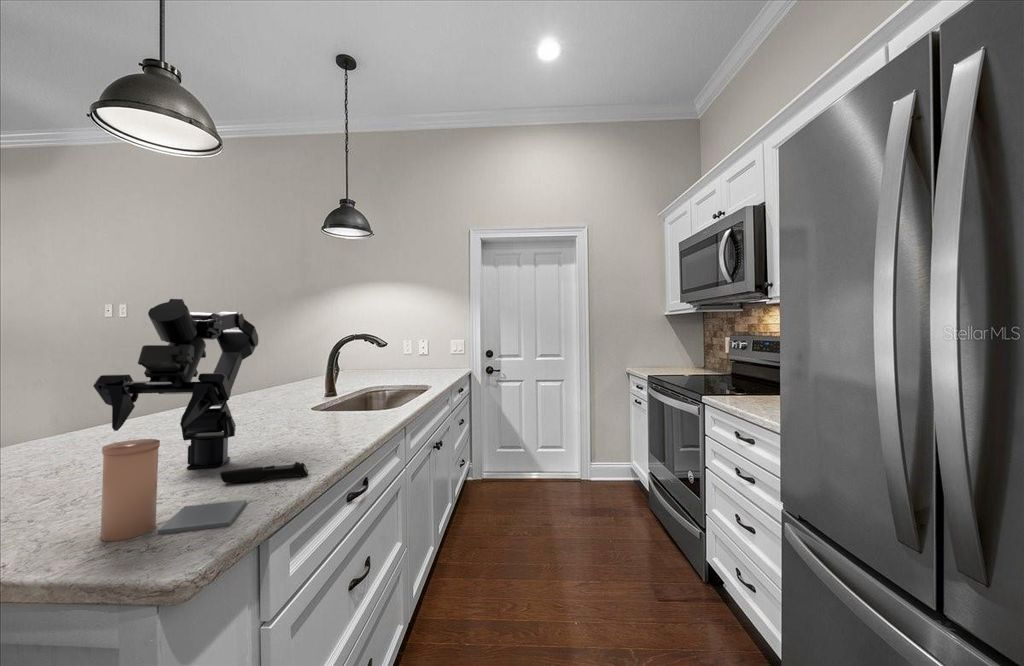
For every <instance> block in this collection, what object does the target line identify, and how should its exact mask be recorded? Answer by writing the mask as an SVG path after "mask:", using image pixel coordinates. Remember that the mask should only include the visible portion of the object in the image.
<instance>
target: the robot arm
mask: <svg viewBox="0 0 1024 666" xmlns="http://www.w3.org/2000/svg"><path fill="white" fill-rule="evenodd" d="M147 313H148V314H147V315H148V318H149V320H150V321H151V323H152V326H153V327H154V330H155V331H156V333H157V335H158V337H159V339H160V341H162V342H165V343H168V344H167V345H165V344H163V345H159V344H158V345H156V344H155V345H154V344H152V345H151V344H150V345H149V344H148V345H147V344H146V345H143V346H142V347H141V351H140V354H139V358H138V361H137V364H138V365H139V366H143V368H145V371H144V376H145V378H149V380H145V381H144V380H143V381H141V380H140V381H134V380H133V378H132V377H131V375H130V374H103V375H99V377H98V378H97V379H96V381H95V382H94V383H93V385H92V386H93V388H94V389H95V391H96V392H97V394H98V395H99V396H100V398H101V399H102V401H103V402H104V403H105V404H106V405H107V406H111V407H112V408H111V409H112V410H111V418H112V419H111V427H112V428H111V429H112V430H113V432H118V431H119V430H120V429H121V428H122V427H123V425H124V424H125V422H126V421H127V419H128V418H129V416H130V415H131V413H132V412H133V410H134V409H135V407H136V405H135V404H134V403H135V402H137V400H138V398H139V395H140V394H141V395H143V394H159V395H185V394H187V395H190V394H191V398H190V399H189V402H188V403H187V407H186V408H185V410H184V412H183V414H182V416H181V418H180V423H179V426H180V427H181V433H182V440H183V441H190V445H188V446H187V465H188V466H186V470H192V469H194V470H195V469H206V467H209V468H217V466H220V467H222V466H223V465H225V464H226V463H227V462H228V461H230V460H231V456H229V455H228V454H229V453H228V452H229V449H228V448H229V438H231V437H235V436H236V423H235V420H234V418H233V416H232V413H231V410H230V407H229V405H228V403H227V402H228V401H230V397H231V395H232V390H233V386H234V384H235V380H236V378H237V377H238V374H239V370H240V368H241V365H242V363H243V360H245V359H246V358H248V357H250V356H251V355H253V353H254V351H255V349H256V347H258V345H259V335H258V332H257V329H256V327H255V325H253V324H252V323H251V322H249V321H248V320H247V319H245V317H244V314H243V313H242V312H240V311H239V312H238V311H221V312H217V313H214V312H190V310H189V308H188V306H187V305H186V304H185V302H184V300H183V298H170V299H169V301H167V302H162V303H159V304H157V305H154V306H153V307H151V308H149V310H148V312H147ZM235 328H238V329H235ZM206 340H208V341H209V340H210V341H211V340H213V341H214V340H216V341H217V342H218V344H219V348H220V351H221V354H220V357H219V359H218V361H217V363H216V366H215V368H214V369H213V372H210V373H208V372H206V373H199V371H198V370H197V368H198V366H199V363H200V361H201V359H202V358H203V359H205V358H206V357H207V353H206V350H205V349H206V346H207V344H206V342H205V341H206ZM198 374H199V375H198ZM197 376H198V378H197V379H198V381H192V380H193V378H194V377H195V378H196V377H197ZM227 460H228V461H227ZM226 461H227V462H226ZM225 462H226V463H225ZM224 463H225V464H224Z"/></svg>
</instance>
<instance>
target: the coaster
mask: <svg viewBox="0 0 1024 666" xmlns="http://www.w3.org/2000/svg"><path fill="white" fill-rule="evenodd" d="M247 503H248V501H247V499H244V500H243V499H242V500H233V501H226V502H225V501H224V502H213V503H204V504H203V503H202V504H194V505H193V504H192V505H185V506H184V507H182V508H181V509H180V510H178V512H176V513H175V515H173V516H172V517H171V518H170V519H169V520H168V521H166V522H165V523H164V524H162V526H161V527H160V528H159V529H157V535H165V534H174V533H180V532H190V531H198V530H205V529H206V530H207V529H214V528H215V529H216V528H223V527H230V526H231V524H232V523H233V522H234V520H236V518H237V517H238V516H239V515H240V513H241V511H242V510H243V508H245V506H246V505H247Z"/></svg>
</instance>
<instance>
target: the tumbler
mask: <svg viewBox="0 0 1024 666" xmlns="http://www.w3.org/2000/svg"><path fill="white" fill-rule="evenodd" d="M160 440H161V439H156V438H141V439H131V440H123V441H118V442H113V443H109V444H107V445H103V446H102V447H101V448H102V449H101V455H103V457H102V458H103V459H102V482H101V484H102V486H101V487H102V488H101V489H102V490H101V511H100V512H101V513H100V538H101V539H100V540H101V541H103V540H104V541H103V542H117V541H124V540H129V539H133V538H136V537H140V536H142V535H145V534H147V533H149V532H151V531H152V530H154V529H156V525H157V501H158V476H159V475H158V472H159V471H158V469H159V467H158V466H159V448H160V446H161V441H160Z"/></svg>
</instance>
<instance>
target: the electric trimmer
mask: <svg viewBox="0 0 1024 666" xmlns="http://www.w3.org/2000/svg"><path fill="white" fill-rule="evenodd" d="M219 474H220V478H221V481H222V482H223V483H226V484H228V483H229V484H230V483H257V482H258V483H260V482H262V481H265V480H273V479H284V478H285V479H286V478H292V477H293V478H295V477H300V478H305V477H308V476H309V471H308V467H307V466H306V464H305V463H304V462H301V463H300V462H299V461H295V462H294V463H292V464H286V465H275V464H274V465H267V466H256V467H248V468H247V467H246V468H240V469H239V468H238V469H229V470H223V471H220V473H219Z"/></svg>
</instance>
